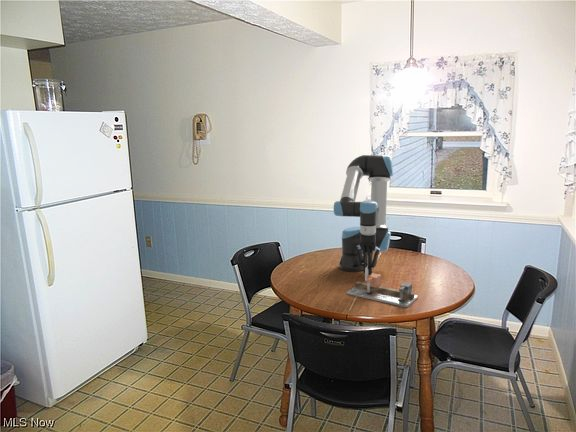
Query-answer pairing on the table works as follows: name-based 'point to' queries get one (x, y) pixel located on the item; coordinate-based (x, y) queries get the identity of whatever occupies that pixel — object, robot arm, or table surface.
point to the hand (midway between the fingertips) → (367, 280)
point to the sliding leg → (373, 281)
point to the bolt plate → (381, 296)
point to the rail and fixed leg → (392, 290)
